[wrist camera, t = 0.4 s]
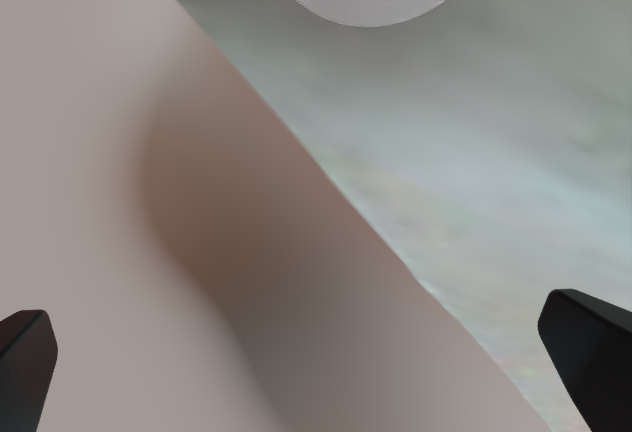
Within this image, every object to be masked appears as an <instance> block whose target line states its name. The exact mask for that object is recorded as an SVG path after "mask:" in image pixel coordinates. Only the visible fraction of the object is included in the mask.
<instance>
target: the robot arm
mask: <svg viewBox="0 0 632 432" xmlns="http://www.w3.org/2000/svg"><path fill="white" fill-rule="evenodd" d="M538 332H539V335H540V338H541V340H542V342H543V344H544V346H545V348H546V350H547V352H548V354H549V356H550V358H551V360H552V362H553V364H554V366H555V368H556V370H557V372H558V374H559V376H560V378H561V380H562V382H563V384H564V386H565V388H566V390H567V392H568V394H569V395H570V397H571V399H572V401H573V402H574V404H575V406H576V407H577V409H578V411H579V412H580V414H581V415H582V417H583V419H584V420H585V422H586V423H587V425H588V426H589V428H590V430H591V431H592V432H632V312H630V311H628V310H625V309H623V308H620V307H618V306H615V305H613V304H610V303H608V302H605V301H603V300H600V299H598V298H595V297H593V296H590V295H588V294H585V293H583V292H580V291H578V290H575V289H555V290H552V291H551V292H550V293H549V295H548V297H547V299H546V302H545V304H544V307H543V309H542V312H541V314H540V317H539V320H538ZM57 354H58V347H57V342H56V339H55V336H54V332H53V329H52V325H51V322H50V319H49V316H48V314H47V312H46V311H44V310H21V311H18V312H16V313H14V314H13V315H11V316H9V317H7V318H5V319H4V320H2V321H0V432H36V430H37V427H38V424H39V421H40V417H41V414H42V410H43V407H44V403H45V400H46V396H47V393H48V389H49V386H50V382H51V379H52V375H53V372H54V368H55V365H56V361H57Z"/></svg>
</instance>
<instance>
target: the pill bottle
mask: <svg viewBox="0 0 632 432" xmlns="http://www.w3.org/2000/svg"><path fill="white" fill-rule="evenodd" d="M296 1H297V2H298V3H299V4H301V5H302V6H303V7H305V8H306V9H308V10H309V11H311V12H313V13H315V14H316V15H318V16H320V17H322V18H325V19H327V20H330V21H333V22H335V23H339V24H343V25H347V26H356V27H381V26H387V25H392V24H396V23H400V22H404V21H408V20H410V19H413V18H415V17H418V16H420V15H422V14H424V13H426V12H428V11H430V10H432V9H434V8H435V7H437V6H438V5H440V4H442V3H443V2H444V1H446V0H296Z"/></svg>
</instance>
